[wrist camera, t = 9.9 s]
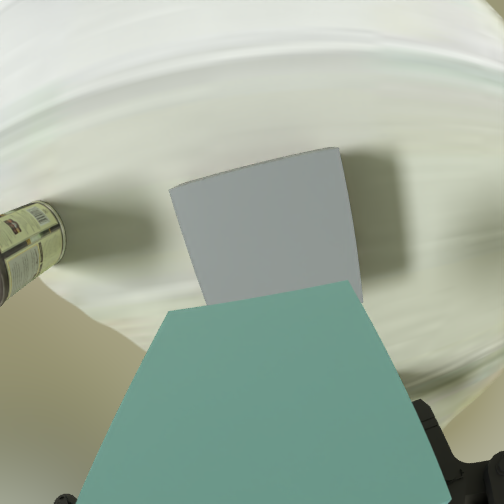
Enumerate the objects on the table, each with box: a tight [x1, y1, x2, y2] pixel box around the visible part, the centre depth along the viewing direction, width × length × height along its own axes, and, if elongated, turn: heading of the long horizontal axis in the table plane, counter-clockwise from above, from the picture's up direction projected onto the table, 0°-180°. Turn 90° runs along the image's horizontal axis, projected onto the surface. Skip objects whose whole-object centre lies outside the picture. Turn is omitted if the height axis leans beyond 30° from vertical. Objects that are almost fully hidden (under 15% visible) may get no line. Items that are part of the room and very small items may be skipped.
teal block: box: [76, 280, 452, 504], centre depth 10 cm, size 8×8×10 cm
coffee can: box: [0, 201, 66, 306], centre depth 31 cm, size 10×10×14 cm
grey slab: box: [169, 147, 363, 305], centre depth 31 cm, size 16×16×4 cm
